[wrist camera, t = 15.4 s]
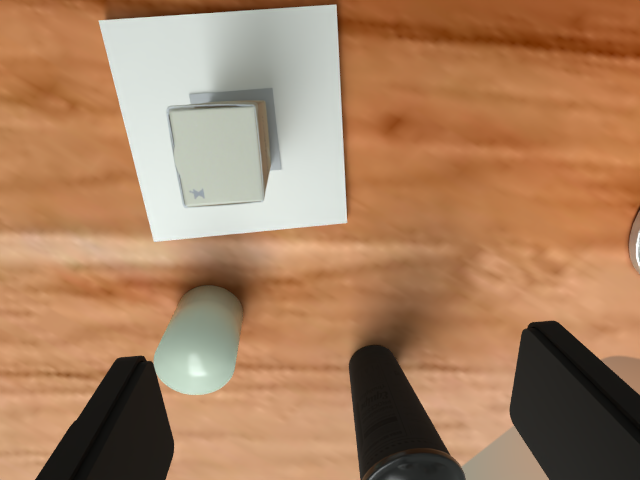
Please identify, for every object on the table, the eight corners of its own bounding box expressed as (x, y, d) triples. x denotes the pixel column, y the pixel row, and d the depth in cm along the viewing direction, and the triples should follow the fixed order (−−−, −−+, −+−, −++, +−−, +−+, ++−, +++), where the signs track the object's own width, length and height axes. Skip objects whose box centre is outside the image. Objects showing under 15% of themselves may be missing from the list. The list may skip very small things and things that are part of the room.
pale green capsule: (238, 281, 35) (228, 326, 29) (247, 337, 38) (240, 389, 31) (170, 289, 35) (145, 335, 28) (184, 344, 37) (163, 399, 31)
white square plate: (334, 7, 28) (336, 4, 27) (345, 218, 34) (347, 223, 33) (104, 22, 27) (97, 20, 26) (157, 237, 33) (153, 242, 32)
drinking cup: (359, 405, 42) (420, 659, 23) (320, 358, 39) (354, 604, 21) (421, 370, 41) (536, 606, 22) (386, 320, 38) (483, 542, 20)
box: (271, 167, 31) (265, 209, 20) (215, 170, 30) (181, 214, 20) (265, 95, 29) (256, 102, 18) (205, 98, 28) (162, 106, 18)
